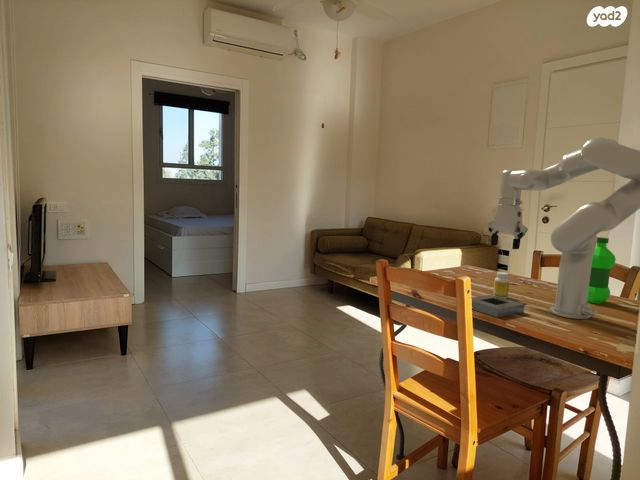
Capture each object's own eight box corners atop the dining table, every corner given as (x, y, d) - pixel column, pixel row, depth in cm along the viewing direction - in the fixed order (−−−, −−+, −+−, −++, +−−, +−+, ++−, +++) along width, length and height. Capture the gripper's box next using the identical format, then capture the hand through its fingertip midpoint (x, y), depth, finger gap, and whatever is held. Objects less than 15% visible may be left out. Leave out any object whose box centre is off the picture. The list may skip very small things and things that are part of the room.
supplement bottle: (492, 294, 185) (495, 271, 184) (507, 296, 183) (509, 272, 182) (493, 297, 180) (495, 273, 178) (508, 299, 178) (510, 275, 177)
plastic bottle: (616, 304, 177) (624, 239, 174) (595, 305, 174) (603, 239, 171) (593, 297, 187) (601, 236, 183) (573, 299, 183) (580, 236, 180)
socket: (523, 312, 161) (524, 304, 160) (497, 317, 153) (498, 308, 153) (490, 302, 172) (490, 294, 172) (464, 306, 165) (464, 298, 165)
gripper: (535, 204, 171) (530, 250, 174) (496, 201, 186) (492, 243, 188) (523, 204, 167) (518, 251, 170) (484, 200, 182) (479, 244, 184)
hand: (504, 247), depth 179 cm, fingers open, 9 cm apart
